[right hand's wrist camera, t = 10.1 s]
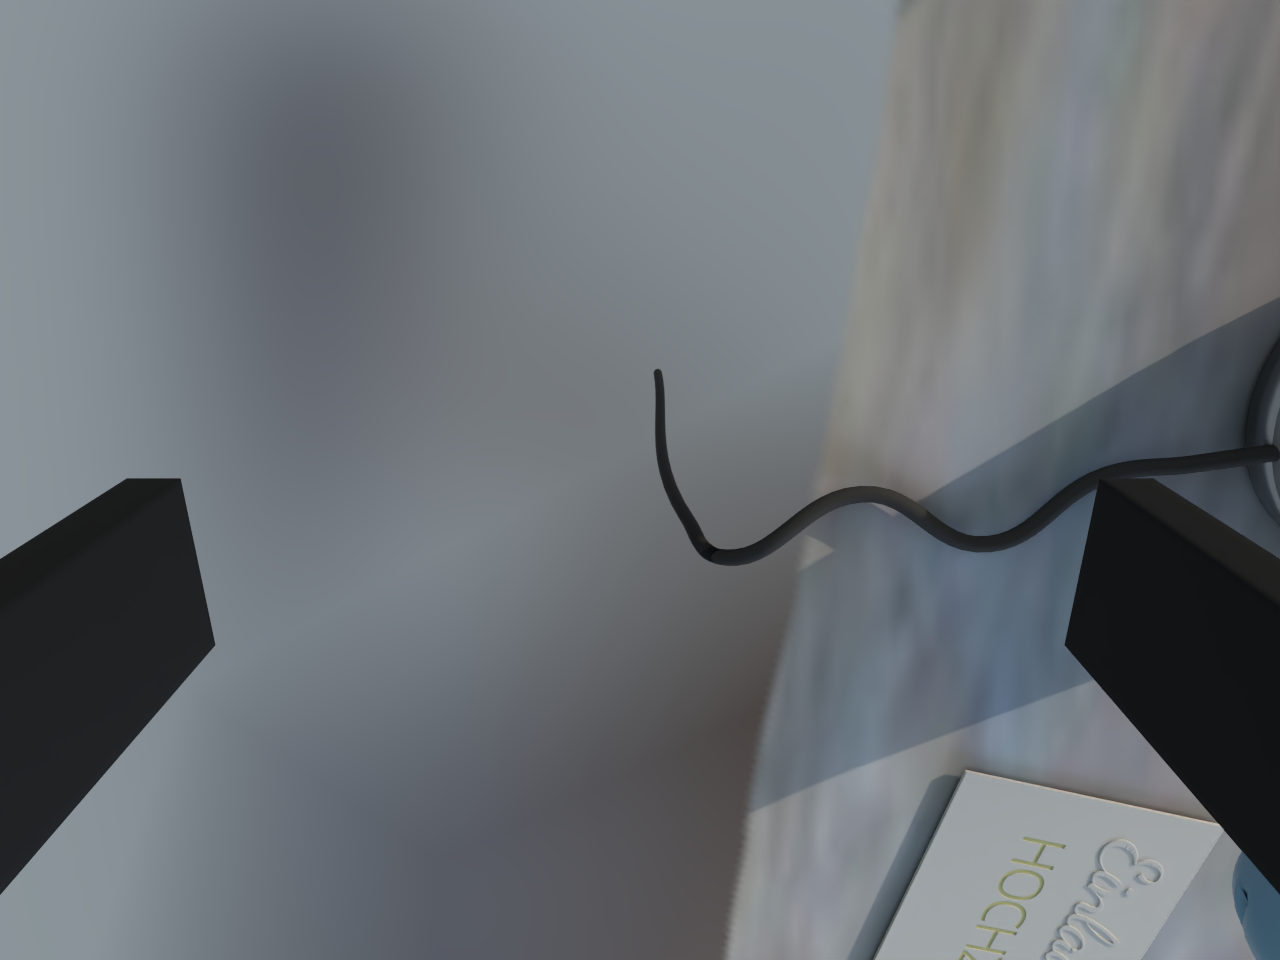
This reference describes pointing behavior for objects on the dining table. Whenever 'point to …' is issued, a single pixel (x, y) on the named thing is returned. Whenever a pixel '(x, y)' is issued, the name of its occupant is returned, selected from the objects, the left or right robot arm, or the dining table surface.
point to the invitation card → (1044, 876)
